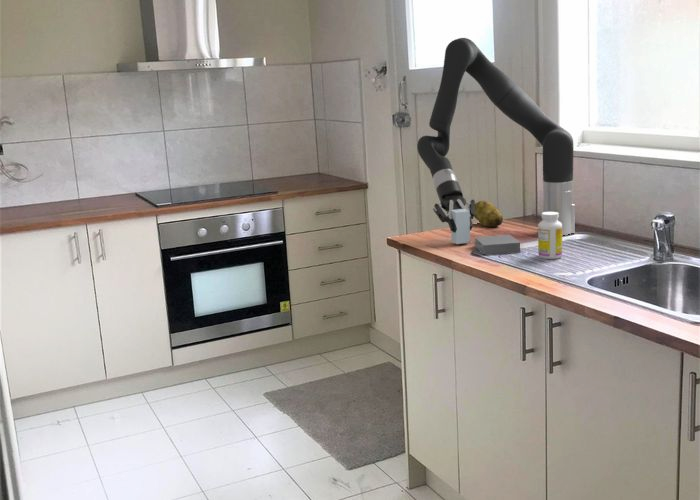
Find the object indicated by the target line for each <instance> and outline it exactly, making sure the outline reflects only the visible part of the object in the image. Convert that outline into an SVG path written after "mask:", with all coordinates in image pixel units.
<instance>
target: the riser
mask: <svg viewBox="0 0 700 500" xmlns="http://www.w3.org/2000/svg"><path fill="white" fill-rule="evenodd" d="M474 248H476V250H478V251H479V250H480V251H481V252H482V253H483V254H493V255H503V254H516V253H518V254H519V253H521V242H520V241H519V240H518V239H517V238H515V237H513V236H512V235H511V234H501V235H499V234H498V235H488V236H487V235H486V236H474ZM480 251H479V252H480ZM481 252H480V253H481ZM482 253H481V254H482ZM483 254H482V255H483Z"/></svg>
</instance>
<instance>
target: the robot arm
mask: <svg viewBox="0 0 700 500" xmlns="http://www.w3.org/2000/svg"><path fill="white" fill-rule="evenodd" d="M465 73H467V74H468V75H469V76H471V78H473V79H474V80H475V81H476V83H478V85H479V86H480V87H481V89H482V91H483V92H484V93H485V95H486V96H487V98H488V99H489V100H490V101H491V102H492V103H493V105H494V106H495V107H497V108H498V110H499V111H501V112H502V114H504V115H505V116H506V117H508V119H510V120H512V121H513V122H514V123H516V124H517V125H519V126H520V127H522V128H523V129H525V130H527V131H528V132H529V133H530V134H531V135H532V136H533V137H534V138H535V139H536V141H538V142H539V144H540V145H541V146H542V213H543V212H557V213H559V217H558V221H559V222H561V223H562V237H564V236H563V235H565V236H569V235H568V234H570V235H572V234H571V233H575V231H576V230H575V229H576V228H575V223H576V222H575V221H576V220H575V218H576V205H575V204H574V203H573V202H574V201H573V200H574V194H573V193H574V191H573V190H574V138H573V136H572V134H570V132H569V131H567V130H566V129H564V127H562V126H560V125H559V124H558V123H556V122H555V120H552V119H551V118H550V117H549V116H548V115H547V114H545V113H544V112H543V110H542V109H541V108H540V106H539V105H538V104H537V103H536V102H535V101H534V100H533V99H532V98H531V97H530V95H529V94H527V92H526V91H525V90H524V89H522V87H520V86H519V85H518V84H517V83H516V82H515V81H514V80H513V79H511V78H510V77H509V76H508V75H506V74H505V72H503V70H501V69H499V68H498V67H497V66H496V65H494V64H493V63H492V62H491V60H489V59H488V58H487V56H486V55H485V54H484V53H483V52H482V50H480V48H479V47H478V45H476V44H475V42H474V41H473V40H471V39H470V38H467V37H459V38H456V39H454V40H451V41H450V42H449V43H448V44H447V46H446V48H445V50H444V59H443V68H442V75H441V79H440V84H439V89H438V91H437V95H436V98H435V101H434V105H433V108H432V112H431V114H430V115H431V116H430V119H429V121H428V123H429V124H428V125H429V127H430V128H431V129H432V130H433V131H436V132H437V136H431V135H423V136H421V137H420V138H419V139H418V140H417V147H416V149H417V153H418V155H419V157H420V158H421V160H422V161H423V163H424V164H425V166H426V167H427V168H428V169H429V171H430V174H431V178H432V180H433V184H434V189H435V191H436V194H437V197H438V199H439V202H440V203H435V204H434V206H433V207H432V210H433V212H434V213H435V214H436V215H437V218H438V219H439V220H440V222H442V223H447V224H448V226H449V230H450V232H451V231H453V233H455V232H456V230H457V227H456V225H455V222H454V219H452V218H453V216H452V211H451V210H456V209H466V210H468V211H470V232H471V231H472V229H473V227H474V224H473V221H472V220H473V219H474V218H475V217H474V215H475V204H476V201H475V199H471V200H467V199H466V198H465V197H464V195H463V192H462V189H461V185H460V183H459V180H458V178H457V176H456V174H455V172H454V169H453V167H452V164H451V161H450V160H449V158H448V157H446V156H447V154H448V153H449V150H450V139H451V138H450V135H451V133H450V132H451V127H452V123H453V119H454V116H455V111H456V107H457V102H458V95H459V90H460V86H461V83H462V80H463V77H464V75H465ZM466 206H467V207H466ZM467 208H468V209H467ZM443 210H444V211H445V212H446V213H445V212H444V211H443Z"/></svg>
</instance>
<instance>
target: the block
mask: <svg viewBox="0 0 700 500" xmlns="http://www.w3.org/2000/svg"><path fill="white" fill-rule="evenodd" d="M451 211H452V216H453V218H452V219H454V222H455V225H456V227H457V230H456V232H455V233H453V231H451V230H450V234H451V235H450V238H451V239H450V240H451V241H450V242H452V243H454V244H456V245H460V244H469V243H470V244H471V231H470V211H469V209H467V210H466V209H456V210H451Z"/></svg>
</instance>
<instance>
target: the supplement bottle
mask: <svg viewBox="0 0 700 500" xmlns="http://www.w3.org/2000/svg"><path fill="white" fill-rule="evenodd" d="M558 217H559V213H557V212H543V211H542V212H541V221H540V222H539V223H538V225H537V227H538V228H537V233H538V234H537V237H538V238H537V242H538V244H537V245H538V247H537V248H538V249H537V250H538V251H537V252H538V257H539V258H541V259H544V260H558V259H561V257H563V236H562V223H561V222H559V221H558Z"/></svg>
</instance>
